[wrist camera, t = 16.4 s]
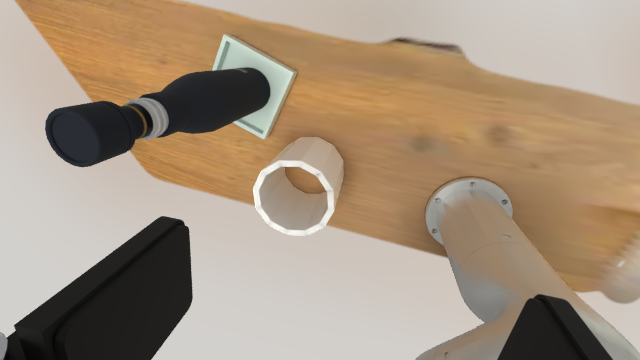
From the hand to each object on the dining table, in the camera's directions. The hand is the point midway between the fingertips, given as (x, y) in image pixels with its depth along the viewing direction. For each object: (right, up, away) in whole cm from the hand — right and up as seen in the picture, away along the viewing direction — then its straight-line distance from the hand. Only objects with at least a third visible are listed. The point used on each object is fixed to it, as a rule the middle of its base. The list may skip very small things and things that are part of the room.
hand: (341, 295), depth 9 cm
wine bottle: (-11, +17, +38) cm, 43 cm away
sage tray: (-11, +17, +39) cm, 44 cm away
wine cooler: (-2, +5, +42) cm, 43 cm away
